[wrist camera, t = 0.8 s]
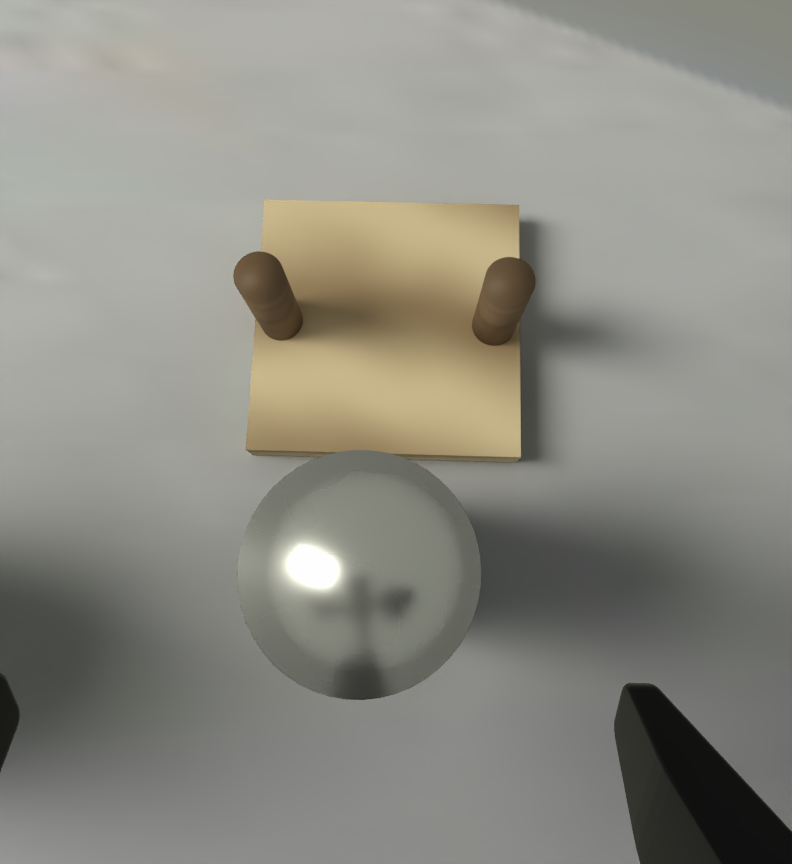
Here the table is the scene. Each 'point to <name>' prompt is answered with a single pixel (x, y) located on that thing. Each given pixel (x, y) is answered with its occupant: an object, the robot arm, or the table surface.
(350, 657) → the silver metal cylinder
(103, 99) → the table surface
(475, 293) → the peg rack
